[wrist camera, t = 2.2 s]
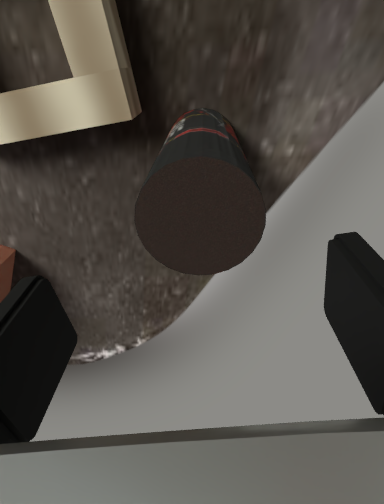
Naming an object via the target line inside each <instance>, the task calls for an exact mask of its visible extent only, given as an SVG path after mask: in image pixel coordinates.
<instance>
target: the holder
mask: <svg viewBox="0 0 384 504" xmlns="http://www.w3.org/2000/svg"><path fill="white" fill-rule="evenodd" d="M48 2H49V5H50V8H51V11H52V14H53V17H54V20H55V23H56V26H57V29H58V32H59V35H60V38H61V41H62V44H63V47H64V50H65V53H66V56H67V59H68V62H69V65H70V68H71V71H72V74H73V77H74V78H71V79H66V80H61V81H57V82H52V83H47V84H42V85H38V86H33V87H28V88H24V89H19V90H14V91H9V92H5V93H0V145H1V144H6V143H11V142H16V141H22V140H27V139H32V138H38V137H43V136H48V135H53V134H59V133H64V132H69V131H75V130H80V129H85V128H90V127H96V126H101V125H106V124H112V123H117V122H122V121H127V120H132V119H134V118H135V117H136V116H137V115H139V114H140V113H141V112H142V110H141V106H140V102H139V97H138V93H137V89H136V85H135V81H134V77H133V72H132V68H131V64H130V60H129V56H128V52H127V48H126V43H125V39H124V35H123V31H122V27H121V23H120V18H119V14H118V10H117V6H116V2H115V0H48Z"/></svg>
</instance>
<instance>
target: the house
mask: <svg viewBox="0 0 384 504" xmlns="http://www.w3.org/2000/svg"><path fill="white" fill-rule="evenodd" d="M15 252H16V250H15V249H12V248H9V247H6V246H3V245H0V303H1V302H2V300H3V299H4V298H5V297H6V296H7V295H8V293H9V292H10V290H11V282H12V275H13V267H14V259H15Z"/></svg>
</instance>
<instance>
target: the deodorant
mask: <svg viewBox="0 0 384 504" xmlns="http://www.w3.org/2000/svg"><path fill="white" fill-rule="evenodd" d="M134 221H135V225H136V229H137V233H138V236H139V238H140V240H141V242H142V243H143V245H144V247H145V249H146V250H147V251H148V252H149V253H150V254H151V255H152V256H153V257H154V258H155V259H156V260H157V261H159V262H160V263H162V264H163V265H165V266H166V267H168V268H170V269H173V270H176V271H178V272H181V273H185V274H193V275H210V274H216V273H219V272H222V271H226V270H229V269H231V268H232V267H234V266H236V265H238V264H240V263H241V262H243V261H244V260H245V259H246V258H247V257H248V256H249V255H250V254H251V253H252V252H253V251H254V249H255V248H256V246H257V245H258V243H259V242H260V240H261V238H262V234H263V231H264V228H265V222H266V209H265V205H264V201H263V198H262V194H261V192H260V189H259V187H258V185H257V183H256V180H255V178H254V176H253V173H252V171H251V169H250V166H249V164H248V162H247V160H246V157H245V155H244V153H243V150H242V148H241V146H240V143H239V141H238V139H237V137H236V134H235V132H234V130H233V128H232V126H231V124H230V123H229V121H228V120H227V119H226V118H225V117H224V116H223V115H222V114H220V113H218V112H216V111H214V110H211V109H205V108H201V109H194V110H191V111H189V112H186V113H185V114H183V115H182V116H181V117H180V118H178V119H177V121H176V122H175V124H174V125H173V126H172V128H171V130H170V132H169V134H168V136H167V138H166V140H165V142H164V144H163V146H162V148H161V150H160V152H159V154H158V156H157V158H156V160H155V162H154V164H153V166H152V168H151V170H150V172H149V174H148V176H147V178H146V180H145V182H144V184H143V186H142V188H141V190H140V193H139V196H138V199H137V202H136V204H135V220H134Z"/></svg>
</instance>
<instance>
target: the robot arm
mask: <svg viewBox="0 0 384 504" xmlns="http://www.w3.org/2000/svg"><path fill="white" fill-rule="evenodd" d="M324 310H325V314H326V317H327V319H328V321H329V323H330V325H331V326H332V328H333V330H334V332H335V334H336V336H337V338H338V340H339V342H340V344H341V346H342V348H343V350H344V352H345V354H346V356H347V358H348V360H349V361H350V364H351V366H352V368H353V370H354V371H355V373H356V375H357V377H358V379H359V381H360V383H361V385H362V387H363V389H364V391H365V393H366V395H367V397H368V399H369V401H370V402H371V405H372V406H373V408H374V410H375V412H376V413H378V414H383V415H384V260H383V259H382V258H381V257H380V256H379V255H378V254H377V253H376V252H375V250H373V248H372V247H371V246H370V245H369V244H367V242H366V241H365V240H364V239H363V238H362V237H361V236H360V235H359V234H358V233H357V232H350V233H343V234H337V235H335V236H334V239H333V240H329V242H328V252H327V266H326V281H325V298H324ZM76 344H77V334H76V332H75V330H74V328H73V326H72V324H71V322H70V320H69V318H68V316H67V314H66V312H65V311H64V309H63V307H62V305H61V303H60V301H59V299H58V297H57V295H56V293H55V291H54V289H53V287H52V286H51V284H50V282H49V280H47V279H44V277H42V276H40V275H38V276H31V277H24V278H22V279H20V280H19V282H18V283H17V284H16V285H15V286H14V288H13V289H12V290H11V291H10V292H9V293H8V295H7V296H6V297H5V298H4V299H3V300H2V302H1V303H0V504H384V418H368V419H349V420H331V421H311V422H310V421H309V422H295V423H280V424H265V425H250V426H236V427H221V428H208V429H194V430H193V429H192V430H180V431H165V432H151V433H138V434H125V435H111V436H99V437H85V438H71V439H59V440H48V441H35V442H29V441H30V440H32V439H33V438H34V437H35V435H36V433H37V431H38V429H39V426H40V424H41V422H42V420H43V417H44V415H45V413H46V410H47V409H48V406H49V404H50V402H51V400H52V397H53V395H54V393H55V390H56V388H57V386H58V384H59V382H60V379H61V377H62V375H63V373H64V371H65V368H66V366H67V364H68V362H69V360H70V357H71V355H72V353H73V351H74V348H75V346H76Z"/></svg>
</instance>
